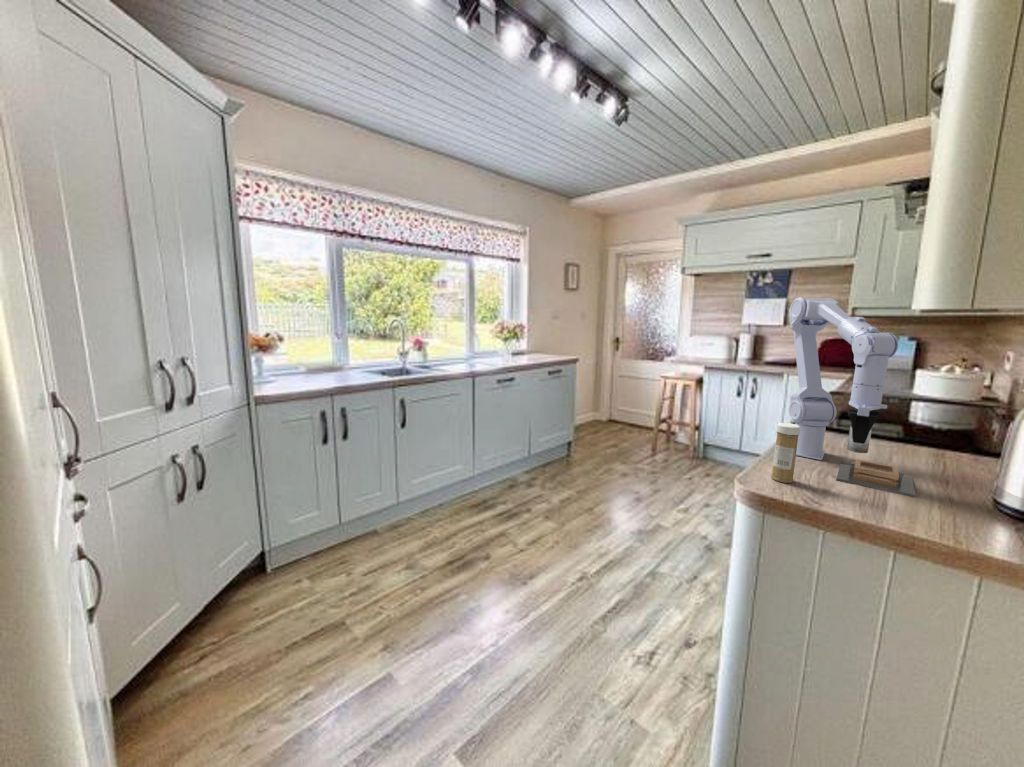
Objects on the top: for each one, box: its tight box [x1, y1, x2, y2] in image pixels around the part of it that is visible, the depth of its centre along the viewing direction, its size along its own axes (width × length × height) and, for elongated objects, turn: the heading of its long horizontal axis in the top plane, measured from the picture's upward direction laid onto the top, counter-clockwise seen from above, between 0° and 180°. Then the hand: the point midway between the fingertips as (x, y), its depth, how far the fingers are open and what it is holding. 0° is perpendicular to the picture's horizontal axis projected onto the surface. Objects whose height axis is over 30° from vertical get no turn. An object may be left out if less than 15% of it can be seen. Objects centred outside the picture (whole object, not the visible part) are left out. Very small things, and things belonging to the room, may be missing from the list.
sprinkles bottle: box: [770, 422, 800, 484], centre depth 103 cm, size 5×5×14 cm
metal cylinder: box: [846, 423, 873, 454], centre depth 105 cm, size 4×4×7 cm
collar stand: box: [836, 459, 916, 498], centre depth 106 cm, size 14×14×3 cm
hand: (859, 440), depth 105 cm, fingers closed on metal cylinder, 4 cm apart
